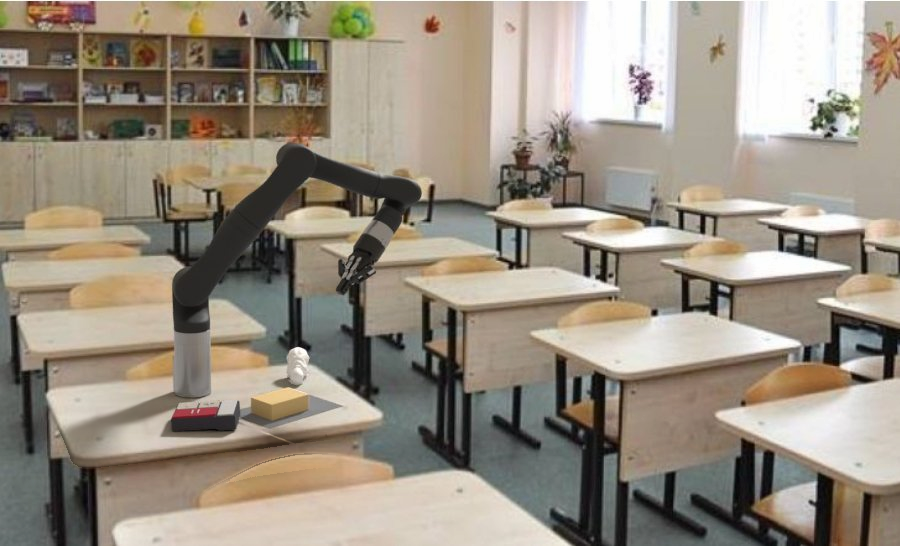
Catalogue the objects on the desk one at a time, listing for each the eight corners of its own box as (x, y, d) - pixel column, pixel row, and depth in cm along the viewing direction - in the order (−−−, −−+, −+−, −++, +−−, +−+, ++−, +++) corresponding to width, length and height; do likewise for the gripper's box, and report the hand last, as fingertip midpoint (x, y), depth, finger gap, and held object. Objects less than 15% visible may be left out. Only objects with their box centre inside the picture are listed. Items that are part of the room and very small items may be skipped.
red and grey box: (177, 401, 260) (239, 397, 261) (179, 417, 261) (240, 413, 262) (169, 416, 249) (234, 412, 250) (171, 434, 250) (236, 429, 251)
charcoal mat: (228, 414, 263) (228, 412, 263) (301, 393, 281) (301, 391, 281) (270, 430, 253) (270, 428, 253) (343, 407, 271) (343, 405, 271)
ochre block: (288, 402, 272) (251, 412, 263) (288, 387, 272) (250, 397, 263) (309, 409, 267) (271, 420, 258) (309, 394, 267) (271, 404, 258)
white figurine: (309, 345, 296) (308, 361, 284) (309, 373, 298) (308, 390, 287) (286, 345, 295) (284, 361, 284) (286, 373, 297) (284, 390, 286)
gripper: (349, 229, 283) (314, 280, 277) (384, 235, 275) (349, 288, 268) (363, 246, 288) (329, 297, 282) (398, 253, 280) (364, 305, 273)
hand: (339, 293), depth 275 cm, fingers closed
